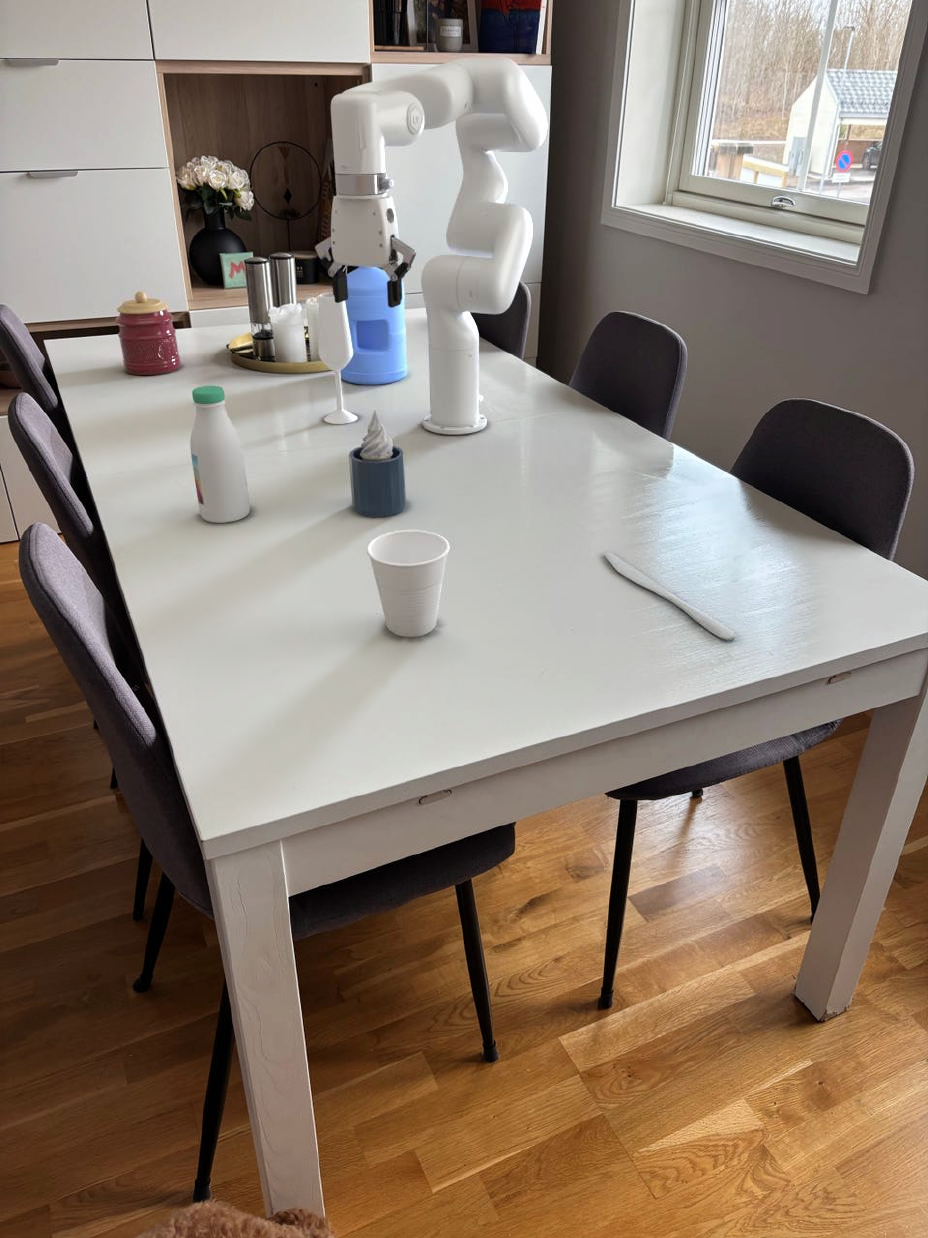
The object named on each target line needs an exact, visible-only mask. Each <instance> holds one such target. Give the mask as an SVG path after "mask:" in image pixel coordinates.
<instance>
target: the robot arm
mask: <svg viewBox="0 0 928 1238" xmlns="http://www.w3.org/2000/svg"><path fill="white" fill-rule="evenodd" d="M330 119H331V133H332V134H331V135H332V148H333V161H334V176H335V189H336V191H335V192H336V195H334V196H333V199H332V204H331V205H332V206H331V215H330V216H331V219H330V236H329V237H327V238H325V239H324V240H323V241H321V242H319V243H317V244H316V245H315V246H314V249H315V251H316V253H317V255H318V258H319V259H320V263H321V265H322V266H323V267H324V268H325V270H326V271H327V274H328V276H329V277H331V283H332V285H331V286H332V293H333V295H334V298H335V303H340V302H343V301H345V300H347V299H348V287H347V276H346V275H347V273H344V271H345V270H346V268H347V267H348V266H350V267H351V266H352V267H360V266H363V267H377V268H382V270H383V271H385V272H386V274H387V275H388V276H389V278H390V280H389V281H388V282H387V295H388V306H389V307H391V308H393V307H395V306H398V305H400V304H401V300H402V281H403V279H404V278H405V276H406V274H408V272H409V271H410V270H411V269H412V264H413V263H414V260H415V257H416V255H417V250H416V249H414V248H413V247H411V246H409V245H408V244H406V243H405V242H404V241H402V240H400V234H399V233H400V232H399V226H398V220H397V214H396V209H395V204H394V200H393V197H392V196H391V195H387V193H388V190H390V189H391V190H392V189H393V188H394V181H393V179H392V178H388V177H387V172H386V159H385V147H407V146H409V145H411V144H413V143H415V142H416V141H418V139H419V138H420V137H421V135H422V133H423V131H426V130H433V129H439V128H442V127H444V126H446V125H448V124H451V123H453V122H455V135H456V139H457V140H456V141H457V144H458V150H459V154H460V158H461V164H462V172H463V173H462V174H463V175H462V181H461V185H460V188H459V191H458V194H457V196H456V199H455V202H454V206H453V209H452V211H451V214H450V217H449V220H448V224H447V228H446V233H445V240H446V244H447V247H448V248H449V250H450V251H452V252H453V253H454V254H439V255H436V256H434V257H432V258H430V259H429V260H428V261H427V262H426V263H425V264H424V266H423V268H422V271H421V276H420V287H421V293H422V297H423V301H424V307H425V313H426V320H427V336H428V337H427V338H428V340H427V341H428V376H429V377H428V380H429V405H430V406H429V411H430V412H429V414H427V415H425V416H424V417H423V418H422V426H423V428H424V429H425V430H427V431H429V432H431V433H435V434H440V435H441V434H442V435H449V436H451V435H452V436H453V435H455V436H456V435H467V434H473V433H476V432H477V433H478V432H479V431H482V430H483V429H485V428H486V427H487V424H488V418H487V417H486V416H485V415H484V414H482V413H480V405H481V404H482V403H483V402H484V397H483V395H482V394H480V334H479V330H478V326H477V324H476V322H475V320H474V318H473V316H472V314H471V313H474V314H475V313H476V314H487V315H500V314H503V313H505V312H506V311H507V310H508V309H509V308H510V307H511V305H512V303H513V301H514V298H515V296H516V293H517V290H518V287H519V284H520V281H521V277H522V275H523V272H524V268H525V265H526V262H527V260H528V258H529V257H528V256H529V253H530V249H531V246H532V241H533V222H532V217H531V215H530V213H529V211H528V210H527V209H526V208H525V207H524V206H521V205H520V204H515V203H506V202H505V200H506V196H507V193H508V187H509V186H508V181H507V178H506V175H505V172H504V170H503V169H502V167H501V165H500V164H499V162H498V161H497V159H496V157H495V154H494V152H495V153H496V152H498V153H530V152H534V151H536V150H538V149H539V148H540V147H541V146H542V144H543V143H544V141H545V139H546V136H547V130H548V120H547V114H546V111H545V107H544V105H543V102H542V101H541V99H540V98H539V96H538V94H537V92H536V90H535V89H534V87H533V85H532V83H531V82H530V80H529V78H528V76H527V75H526V74H525V72H524V71H523V69H522V68H521V67H520V66H519V64H518V63H517V62H516V61H514V60H512V58H511V57H508V56H466V57H458V58H455V59H452V60H449V61H447V62H444V63H442V64H439V65H436V66H433V67H430V68H427V69H424V70H419V71H415V72H410V73H406V74H402V75H398V76H395V77H389V78H385V79H381V80H380V79H379V80H375V81H370V82H367V83H363V84H360V85H357V86H353V87H351V88H349V89H345V91H343V92H341V93H338V94H336V95H334V96H333V98H332V99H331V102H330ZM330 249H331V255H332V256H331V255H330V252H329V250H330ZM401 255H402V256H403V257H402V261H401V263H400V264H399V263H398V262H399V261H400V259H401Z"/></svg>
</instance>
